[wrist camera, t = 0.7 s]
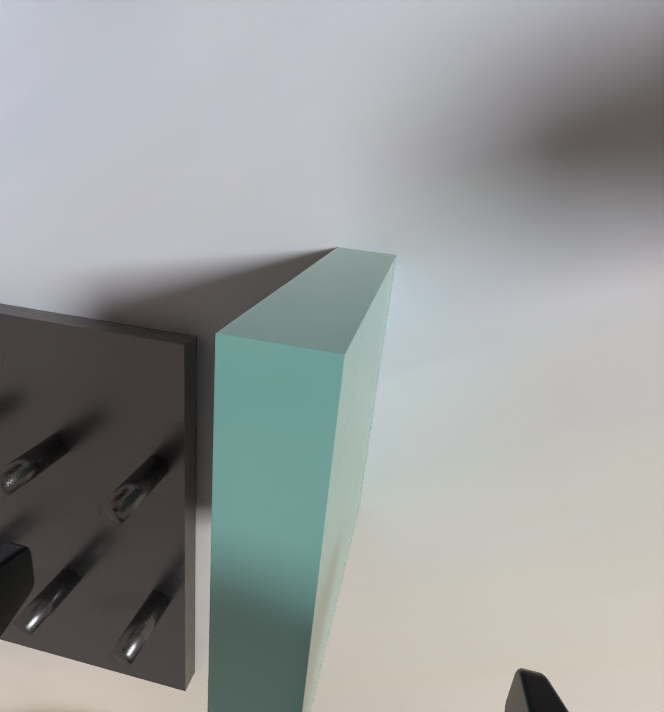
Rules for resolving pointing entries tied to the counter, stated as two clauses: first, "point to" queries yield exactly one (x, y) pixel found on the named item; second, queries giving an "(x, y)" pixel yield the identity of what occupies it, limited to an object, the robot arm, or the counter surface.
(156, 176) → the counter surface
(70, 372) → the dish rack
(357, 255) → the teal plate
